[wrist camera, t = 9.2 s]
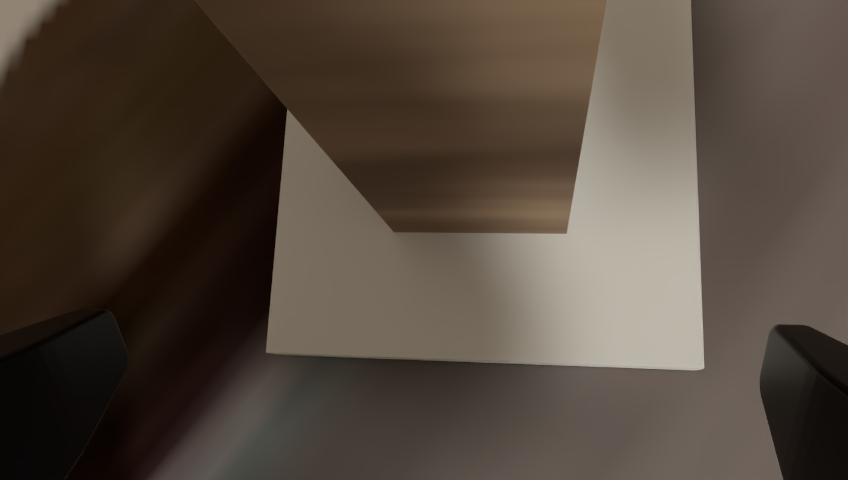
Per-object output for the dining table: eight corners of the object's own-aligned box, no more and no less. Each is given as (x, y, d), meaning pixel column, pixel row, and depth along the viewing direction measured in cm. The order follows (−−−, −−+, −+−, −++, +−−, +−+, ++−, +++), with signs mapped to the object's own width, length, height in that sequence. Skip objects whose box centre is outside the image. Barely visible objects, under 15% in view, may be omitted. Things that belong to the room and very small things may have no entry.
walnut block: (566, 233, 19) (626, -115, 6) (393, 232, 19) (122, -82, 7) (567, 70, 19) (619, -530, 7) (402, 74, 20) (178, -461, 8)
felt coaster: (695, 370, 18) (704, 368, 17) (278, 354, 20) (265, 352, 19) (681, -23, 21) (689, -44, 20) (309, -6, 22) (299, -25, 21)
